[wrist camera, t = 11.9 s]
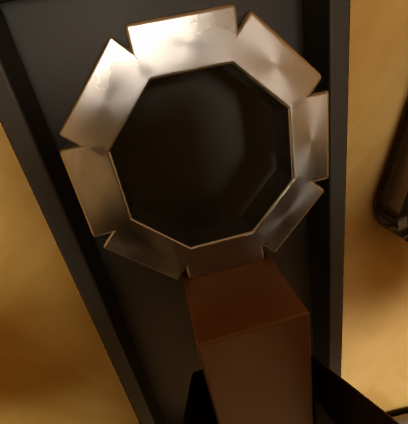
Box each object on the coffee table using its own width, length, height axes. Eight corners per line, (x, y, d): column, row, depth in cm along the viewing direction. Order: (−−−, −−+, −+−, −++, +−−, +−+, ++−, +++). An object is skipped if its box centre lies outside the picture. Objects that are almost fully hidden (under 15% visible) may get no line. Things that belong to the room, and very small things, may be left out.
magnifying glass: (31, 47, 6) (-54, 27, 3) (305, -4, 6) (422, -57, 4) (186, 453, 12) (199, 558, 9) (317, 409, 12) (364, 498, 10)
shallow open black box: (-25, -15, 7) (-77, -42, 5) (306, -70, 7) (354, -109, 6) (160, 428, 14) (163, 475, 12) (318, 378, 15) (340, 416, 13)
